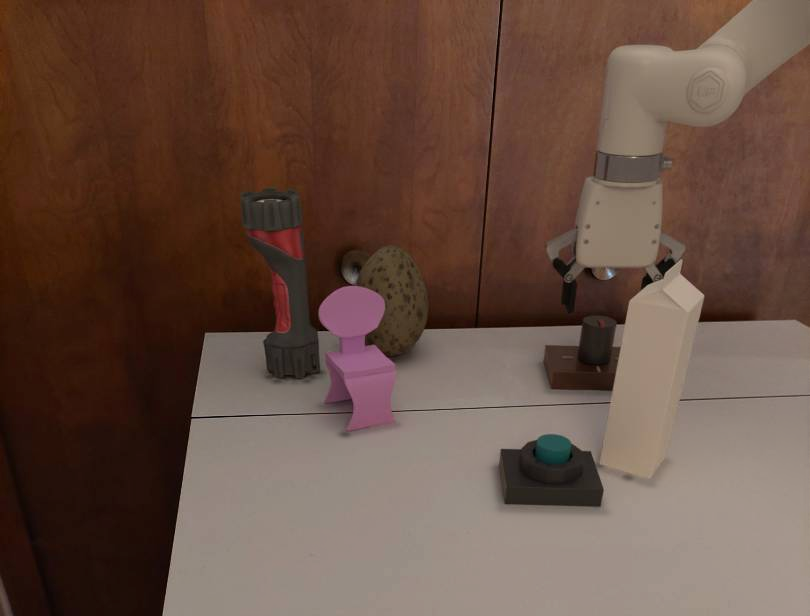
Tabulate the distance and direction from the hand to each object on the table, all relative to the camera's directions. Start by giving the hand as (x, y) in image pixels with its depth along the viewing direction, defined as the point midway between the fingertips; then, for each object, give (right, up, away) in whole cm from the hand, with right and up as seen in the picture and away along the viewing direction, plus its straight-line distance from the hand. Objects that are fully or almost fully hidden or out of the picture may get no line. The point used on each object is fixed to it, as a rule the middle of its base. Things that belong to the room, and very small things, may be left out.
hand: (606, 310), depth 104 cm
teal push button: (-11, -21, -20) cm, 31 cm away
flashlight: (-43, -7, +5) cm, 44 cm away
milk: (0, -21, -13) cm, 25 cm away
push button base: (-11, -24, -18) cm, 32 cm away
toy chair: (-32, -14, -5) cm, 35 cm away
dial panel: (-1, -7, +6) cm, 9 cm away
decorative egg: (-29, -3, +11) cm, 31 cm away
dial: (-1, -5, +4) cm, 7 cm away
